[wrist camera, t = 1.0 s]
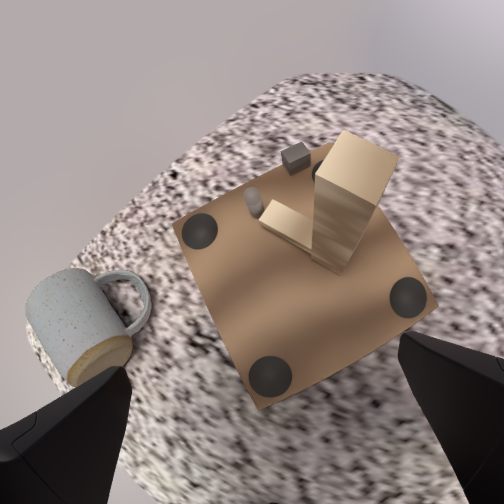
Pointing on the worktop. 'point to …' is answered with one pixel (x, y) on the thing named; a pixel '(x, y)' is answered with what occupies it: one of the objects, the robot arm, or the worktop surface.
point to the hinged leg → (337, 202)
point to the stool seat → (296, 284)
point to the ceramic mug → (83, 322)
